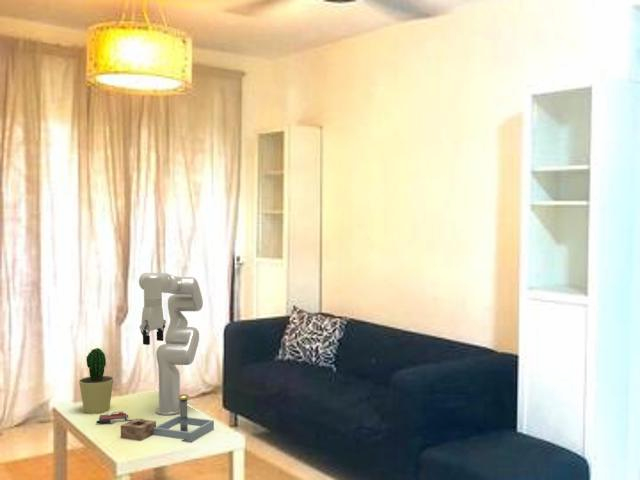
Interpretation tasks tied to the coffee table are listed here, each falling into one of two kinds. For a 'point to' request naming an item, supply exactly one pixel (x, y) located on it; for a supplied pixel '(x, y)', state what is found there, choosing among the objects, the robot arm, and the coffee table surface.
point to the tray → (187, 436)
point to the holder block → (137, 429)
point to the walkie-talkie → (113, 418)
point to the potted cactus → (96, 384)
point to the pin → (183, 412)
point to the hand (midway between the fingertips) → (153, 342)
